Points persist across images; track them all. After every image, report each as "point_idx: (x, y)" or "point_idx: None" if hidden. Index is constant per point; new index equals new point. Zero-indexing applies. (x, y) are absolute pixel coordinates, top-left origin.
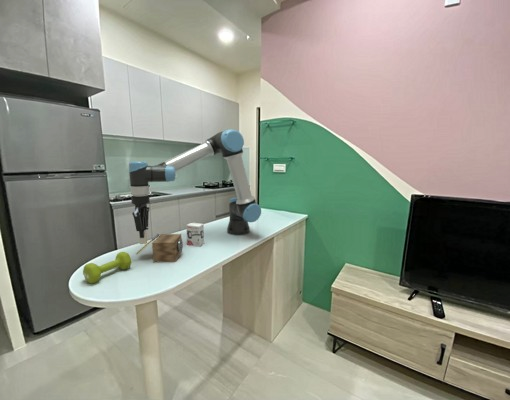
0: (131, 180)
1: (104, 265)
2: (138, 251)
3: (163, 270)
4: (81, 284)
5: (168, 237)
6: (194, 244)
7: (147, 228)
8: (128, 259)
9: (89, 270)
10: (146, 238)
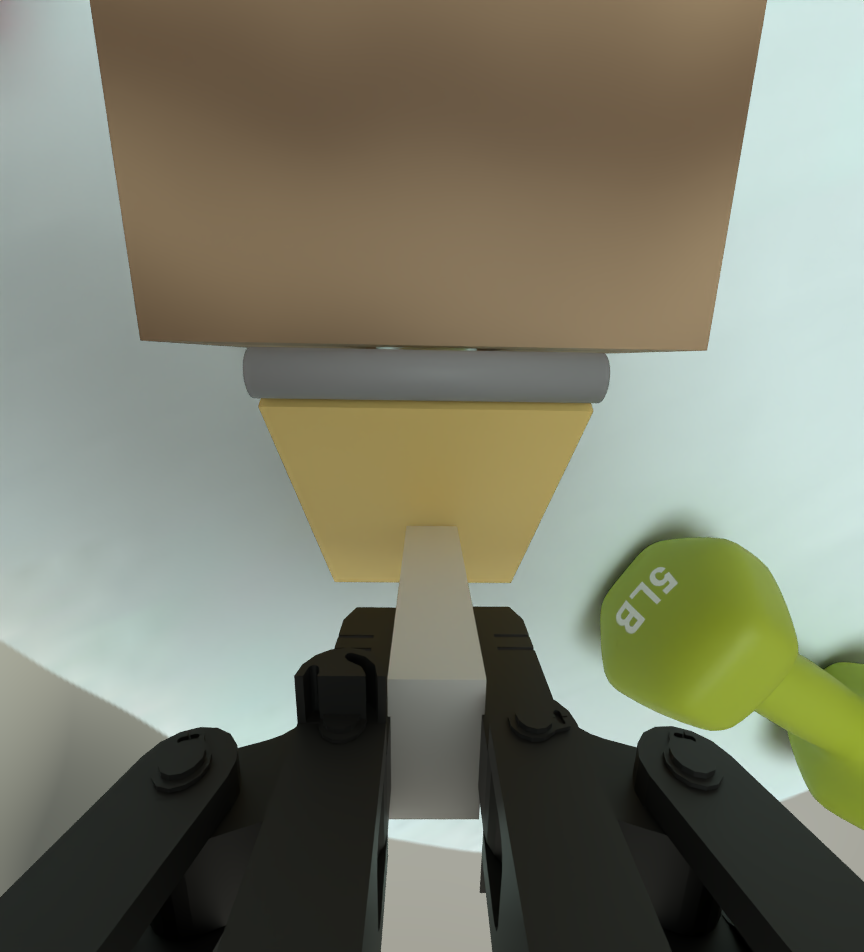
0: None
1: (858, 723)
2: (519, 563)
3: (792, 166)
4: None
5: (379, 46)
6: None
7: (358, 681)
8: (761, 572)
9: None
10: (416, 560)
